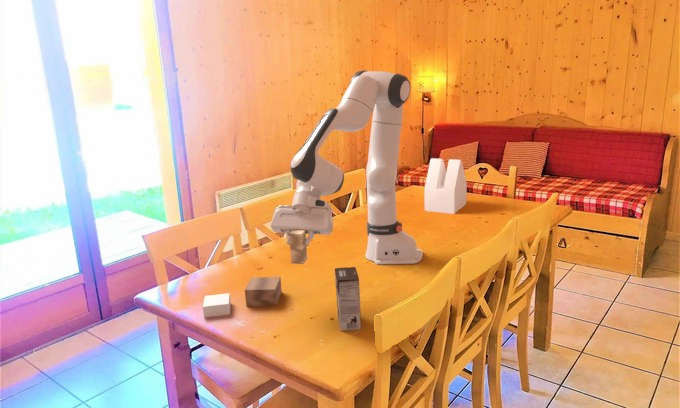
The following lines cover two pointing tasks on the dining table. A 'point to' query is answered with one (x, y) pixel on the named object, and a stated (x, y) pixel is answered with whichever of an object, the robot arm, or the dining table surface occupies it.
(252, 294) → the walnut block
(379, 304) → the dining table surface
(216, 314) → the white square block
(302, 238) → the oak pillar
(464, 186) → the white notched block
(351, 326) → the coffee box
